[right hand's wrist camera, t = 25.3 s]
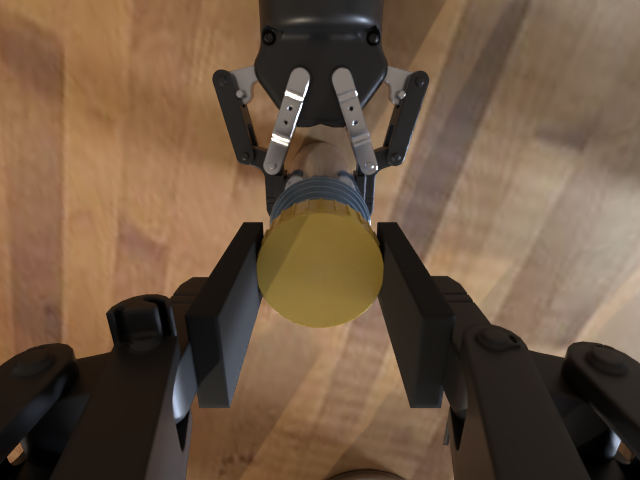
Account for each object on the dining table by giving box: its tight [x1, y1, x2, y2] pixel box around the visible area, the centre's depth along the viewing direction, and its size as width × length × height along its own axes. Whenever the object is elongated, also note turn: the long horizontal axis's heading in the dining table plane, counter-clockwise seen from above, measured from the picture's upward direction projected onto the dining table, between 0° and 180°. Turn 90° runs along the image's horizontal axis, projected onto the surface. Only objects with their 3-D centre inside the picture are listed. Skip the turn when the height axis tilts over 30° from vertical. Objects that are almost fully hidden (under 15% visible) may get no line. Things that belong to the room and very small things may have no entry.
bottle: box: [270, 142, 371, 226], centre depth 22 cm, size 5×5×20 cm
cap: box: [256, 198, 384, 328], centre depth 13 cm, size 5×5×2 cm
